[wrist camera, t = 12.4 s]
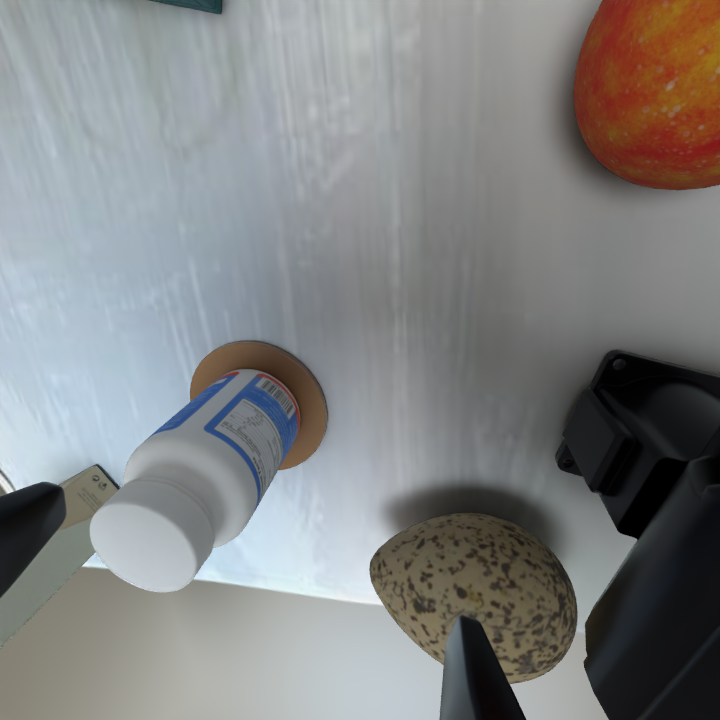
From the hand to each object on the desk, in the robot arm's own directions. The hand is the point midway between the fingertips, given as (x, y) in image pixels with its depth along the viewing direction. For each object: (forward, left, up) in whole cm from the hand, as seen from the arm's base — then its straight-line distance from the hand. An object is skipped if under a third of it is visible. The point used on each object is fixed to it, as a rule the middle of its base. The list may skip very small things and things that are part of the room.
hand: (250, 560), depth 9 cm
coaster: (+5, +5, -13) cm, 15 cm away
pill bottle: (+5, +5, -13) cm, 15 cm away
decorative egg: (-13, +9, -10) cm, 19 cm away
